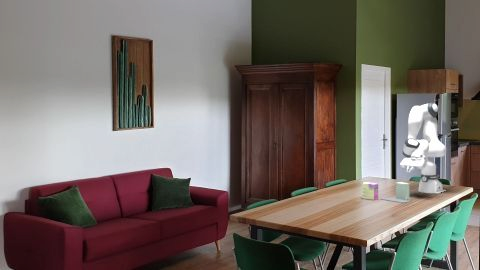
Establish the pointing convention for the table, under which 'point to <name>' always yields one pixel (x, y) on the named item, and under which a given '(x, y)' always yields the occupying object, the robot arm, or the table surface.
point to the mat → (395, 200)
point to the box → (370, 191)
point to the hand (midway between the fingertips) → (408, 171)
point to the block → (402, 191)
